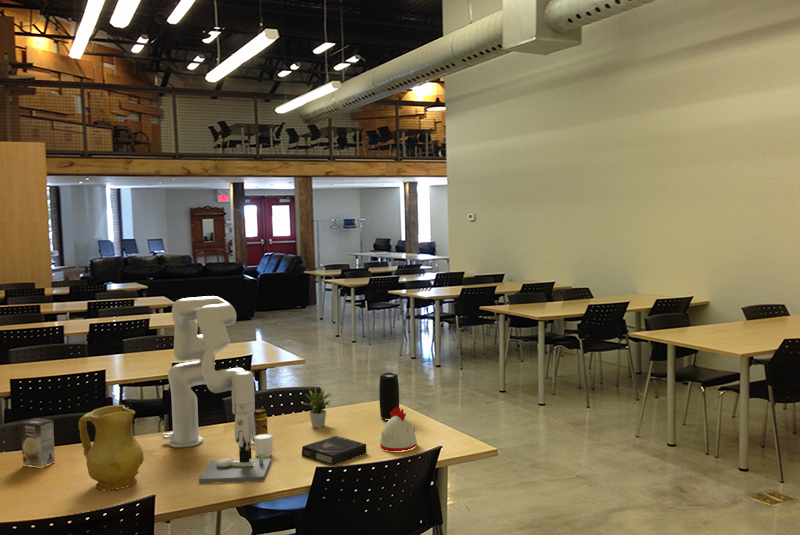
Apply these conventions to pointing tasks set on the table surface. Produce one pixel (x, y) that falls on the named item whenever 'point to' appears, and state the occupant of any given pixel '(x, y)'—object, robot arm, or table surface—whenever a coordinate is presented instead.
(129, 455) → the pitcher
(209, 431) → the table surface
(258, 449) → the white cup
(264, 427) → the condiment
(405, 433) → the kitchen timer
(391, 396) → the portable speaker
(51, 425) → the coffee box
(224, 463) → the light piece
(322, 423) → the house plant
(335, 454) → the flat black box
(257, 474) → the board
